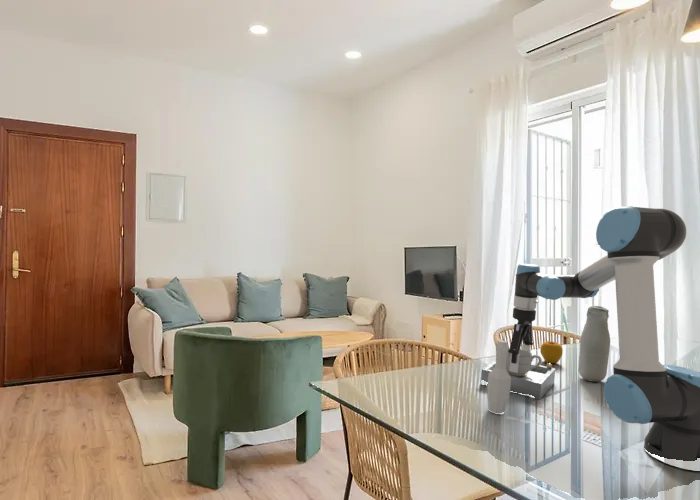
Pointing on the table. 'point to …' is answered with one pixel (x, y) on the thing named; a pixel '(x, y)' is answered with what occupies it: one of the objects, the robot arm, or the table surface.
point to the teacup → (523, 362)
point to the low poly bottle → (499, 381)
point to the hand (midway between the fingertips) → (519, 367)
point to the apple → (551, 351)
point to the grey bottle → (595, 345)
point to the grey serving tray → (528, 380)
